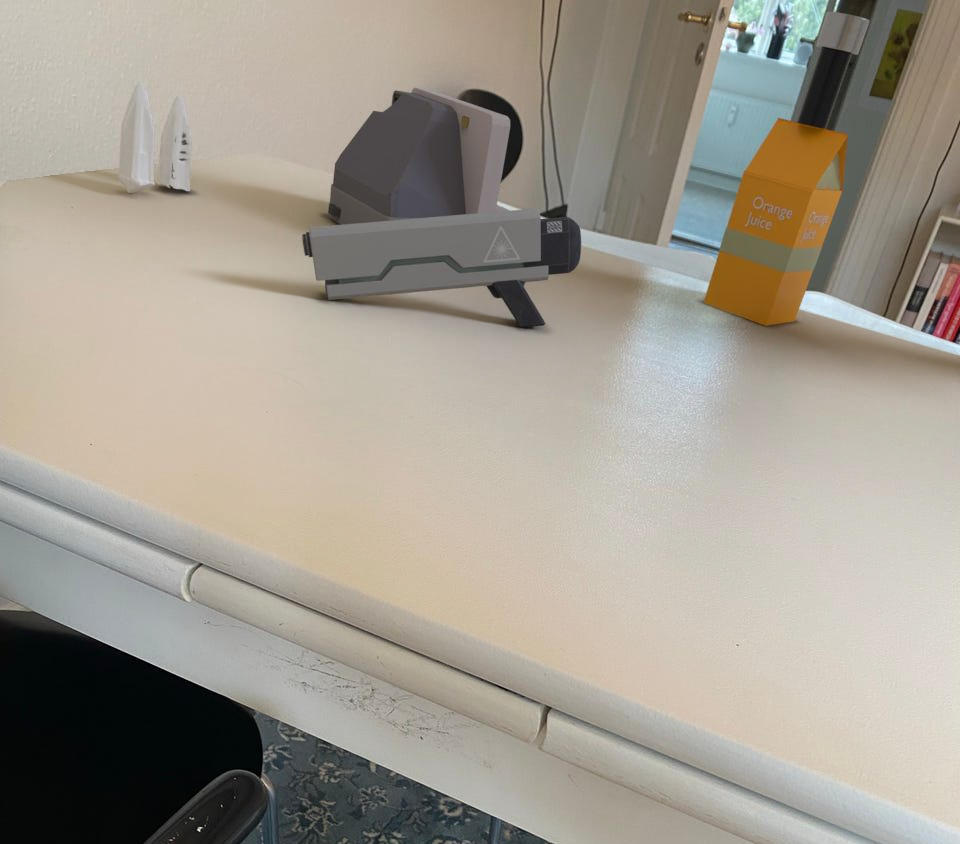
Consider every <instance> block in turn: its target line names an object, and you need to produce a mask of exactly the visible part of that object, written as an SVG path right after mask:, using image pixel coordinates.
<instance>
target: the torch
mask: <svg viewBox="0 0 960 844" xmlns="http://www.w3.org/2000/svg"><path fill="white" fill-rule="evenodd" d="M869 24H870V19H868V18H864V17H861V16H858V15H853V14H848V13H843V12H838V11H837V12H836V11H827V12H826V13H825V16H824V19H823V22H822V27H821V29H820V32H819V35H818V39H817V41H816V45H815V46H816V47H818V48H820V51H819V53H818V57H817V60H816V62H815V66H814V69H813V71H812V75H811V78H810V81H809V84H808V87H807V90H806V93H805V96H804V99H803V102H802V105H801V108H800V111H799V114H798V116H797V117H798V118H797V120H796V122H797V123H800V124H804V125H808V126H813V127H817V128H822V129H827V127H828V124H829V121H830V119H831V116H832V113H833V110H834V108H835V105H836V101H837V98H838V96H839V94H840V93H839V92H840V90H841V87H842V84H843V81H844V78H845V76H846V72H847V70H848V67H849V65H850V64H849V63H850V61H851V58H852V55H855V56H857V55H859V53H860V50H861V47H862V45H863V41H864V39H865V37H866V36H865V35H866V33H867V30H868V27H869Z"/></svg>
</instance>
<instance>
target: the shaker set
mask: <svg viewBox="0 0 960 844" xmlns="http://www.w3.org/2000/svg"><path fill="white" fill-rule="evenodd" d="M147 89H148V88H147V85H146V83H145V82H143V81H139V82H137V83H136V85H135V86H134V89H133V92H132V94H131V97H130V100H129V102H128V105H127V108H126V110H125V113H124V116H123V119H122V122H121V128H120V144H119V162H118V163H119V164H118V165H119V166H118V174H117V176H116V177H117V180H118V181H119V183H120V184H121V185H122V186H123V188H124V190H126V192H127V193H128V194H135V193H140V192H143V191H146V190H148V189H150V188H152V187H155V185H156V184H157V185H159V186H161V185H163V186H166V187H167V188H168V189H171V187H172V188H173V189H176V190H183V191H185V192H191V191H192V190H191V169H192V168H191V167H192V154H193V153H192V151H193V150H192V149H193V142H192V141H193V140H192V134H191V130H190V123H189V118H188V113H187V108H186V103H185V99H184V96H181V95H177V96H176V97H175V98H174V100H173V103H172V105H171V107H170V111H169V113H168V116H167V119H166V121H165V123H164V125H163V129H162V131H161V135H160V143H159V144H160V145H159V159H158V172H157V180H156V181H157V182H156V183H155V180H154V177H155V176H154V175H155V174H154V173H155V154H156V153H155V151H156V128H155V127H156V126H155V123H154V117H153V113H152V108H151V104H150V99H149V95H148V90H147Z"/></svg>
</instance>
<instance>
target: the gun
mask: <svg viewBox="0 0 960 844" xmlns="http://www.w3.org/2000/svg"><path fill="white" fill-rule="evenodd" d="M301 240H302V246H303V252H304V256H305V257H307V256H308V258H312V263H313V267H314V268H313V269H314V276H315V280H316V281H317V282H320V281H324V288H325V295H326V299H327V300H328V301H334V300H346V299H355V298H366V297H367V298H368V297H377V296H388V295H389V296H390V295H399V294H409V293H422V292H431V291H432V292H434V291H445V290H454V289H456V290H457V289H465V288H476V287H477V288H479V287H486V288H487V289H488V292H490V295H491V296H492V297H493V298H494V299H502V301H503V303H504V304H505V306H506V308H507V309H508V310H509V312H510V314H511V315H512V317H513V318H514V320H515V321H516V323H517V324H518V326H519V327H521V328H534V327H543V326H545V325H546V321H545V320H544V318H543V317H542V315H541V313H540V312H539V310H538V309H537V306H536V305H535V303H534V302H533V300H532V298H531V296H530V295H529V293H528V291H527V289H526V288H525V284H526V283H532V282H533V283H534V282H543V281H548V280H549V276H551V275H563V274H569V273H572V272H573V271H575V270H576V269H577V267H578V266H579V264H580V261H581V254H582V233H581V227H580V226H579V224H578V223H577V222H576V221H575V220H574V219H573V218H571V217H570V216H569V217H568V216H559V217H547V218H541V212H540V211H539V210H538V209H537V208H524V209H514V210H513V209H512V210H510V211H500V212H488V213H476V214H464V215H452V216H440V217H428V218H416V219H404V220H392V221H380V222H368V223H356V224H345V225H340V224H335V225H323V226H322V225H321V226H311V227H309V228H308V231H305V233H303V234H301Z"/></svg>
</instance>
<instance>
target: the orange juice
mask: <svg viewBox="0 0 960 844" xmlns="http://www.w3.org/2000/svg"><path fill="white" fill-rule="evenodd" d="M848 139H849V134H847V133H843V132H840V131H836V130H835V131H834V130H830V129H828V128H826V129H822V128H817V127H813V126H808V125H804V124H800V123H797V121H793V120H789V119H785V118H782V117H777V120H776V121H775V122H774V124H773V126H772V127H771V129H770V131H769V132H768V133H767V135H766V136H765V139H764V140H763V142H762V143H761V145H760V146H759V148H758V149H757V151H756V153H755V154H754V156H753V157H752V159H751V161H750V162H749V164H748V165H747V167H746V168H745V170H743V173H742V176H741V180H740V182H739V186H738V189H737V192H736V197H735V199H734V201H733V205H732V209H731V212H730V215H729V218H728V222H727V225H726V227H725V230H724V233H723V237H722V240H721V243H720V246H719V249H718V253H717V257H716V260H715V264H714V267H713V270H712V273H711V276H710V280H709V283H708V286H707V290H706V293H705V296H704V300H703V302H702V303H704V304H706V305H709V306H711V307H714V308H717V309H719V310H722V311H725V312H727V313H730V314H732V315H736V316H739V317H740V318H744V319H747V320H749V321H751V322H753V323H757V324H759V325H762V326H765V327H767V326H773V325H778V324H785V323H793V322H795V321H796V319H797V315H798V313H799V310H800V307H801V304H802V302H803V299H804V296H805V293H806V291H807V289H808V286H809V283H810V280H811V278H812V275H813V272H814V270H815V268H816V265H817V262H818V260H819V257H820V254H821V252H822V249H823V245H824V243H825V239H826V237H827V234H828V231H829V229H830V226H831V223H832V221H833V218H834V215H835V212H836V210H837V207H838V204H839V202H840V198H841V196H842V193H843V187H844V178H845V168H846V157H847V149H848Z"/></svg>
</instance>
